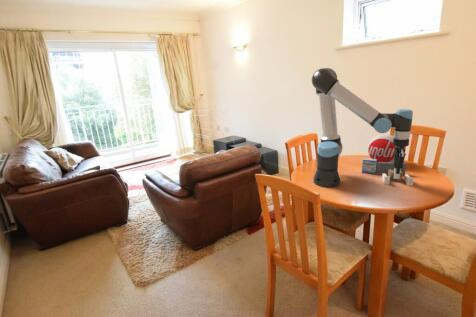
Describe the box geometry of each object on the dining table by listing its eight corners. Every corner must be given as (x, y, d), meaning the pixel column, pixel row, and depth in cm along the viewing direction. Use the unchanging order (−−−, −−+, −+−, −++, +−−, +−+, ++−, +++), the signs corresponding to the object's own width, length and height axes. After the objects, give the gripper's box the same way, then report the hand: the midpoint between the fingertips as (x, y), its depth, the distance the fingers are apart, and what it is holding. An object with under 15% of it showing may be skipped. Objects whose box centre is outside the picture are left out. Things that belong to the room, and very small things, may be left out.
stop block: (375, 173, 165) (377, 162, 163) (375, 172, 166) (376, 162, 164) (405, 174, 161) (406, 163, 159) (404, 173, 162) (405, 162, 160)
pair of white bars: (384, 184, 149) (385, 177, 148) (381, 179, 156) (381, 172, 155) (412, 185, 145) (413, 178, 144) (407, 180, 152) (408, 173, 151)
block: (390, 180, 153) (391, 172, 152) (387, 177, 159) (388, 169, 157) (401, 181, 151) (402, 173, 150) (398, 177, 157) (399, 169, 155)
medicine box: (361, 172, 168) (362, 159, 165) (361, 170, 171) (362, 157, 169) (375, 174, 164) (376, 160, 162) (375, 171, 168) (376, 158, 165)
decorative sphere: (362, 164, 182) (365, 136, 176) (370, 156, 196) (373, 130, 190) (395, 169, 169) (399, 139, 163) (401, 161, 184) (405, 132, 178)
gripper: (413, 141, 137) (407, 183, 144) (405, 135, 149) (400, 174, 156) (396, 141, 139) (391, 182, 146) (390, 135, 151) (386, 174, 158)
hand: (396, 178), depth 151 cm, fingers closed
